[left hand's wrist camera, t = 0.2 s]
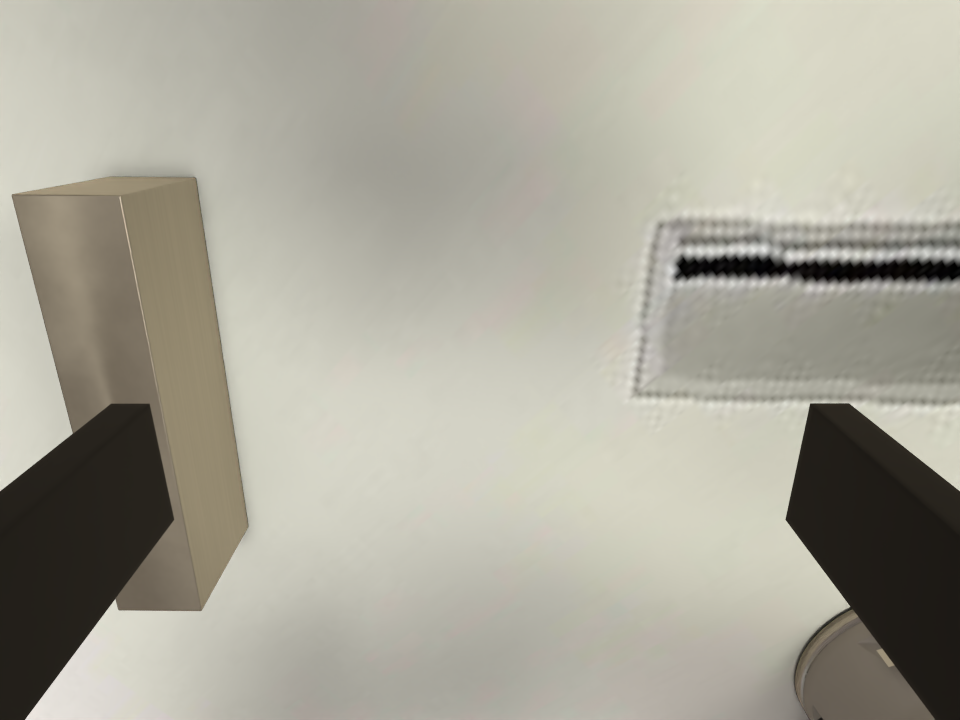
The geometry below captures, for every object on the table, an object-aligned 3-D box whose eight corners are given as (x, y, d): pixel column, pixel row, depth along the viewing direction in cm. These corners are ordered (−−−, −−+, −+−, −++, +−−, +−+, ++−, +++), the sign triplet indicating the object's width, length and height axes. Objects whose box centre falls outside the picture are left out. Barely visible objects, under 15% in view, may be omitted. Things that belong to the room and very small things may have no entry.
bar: (109, 176, 37) (10, 194, 30) (196, 177, 37) (120, 195, 30) (179, 526, 47) (118, 610, 39) (248, 526, 47) (201, 611, 39)
